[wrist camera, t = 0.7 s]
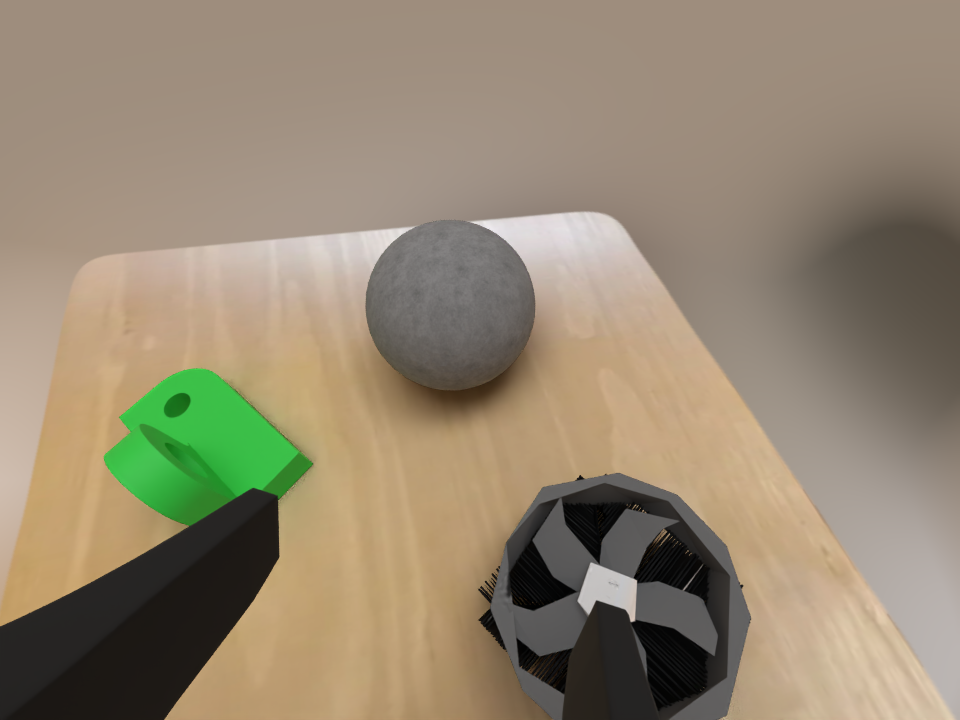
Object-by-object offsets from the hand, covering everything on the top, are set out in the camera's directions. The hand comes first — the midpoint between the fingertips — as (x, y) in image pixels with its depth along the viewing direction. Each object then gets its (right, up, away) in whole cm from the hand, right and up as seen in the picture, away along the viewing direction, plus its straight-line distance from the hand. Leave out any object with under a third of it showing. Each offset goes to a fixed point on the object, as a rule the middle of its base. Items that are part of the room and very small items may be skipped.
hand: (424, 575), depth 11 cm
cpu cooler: (+7, -8, +14) cm, 17 cm away
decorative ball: (0, +5, +23) cm, 23 cm away
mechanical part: (-16, -1, +22) cm, 27 cm away
